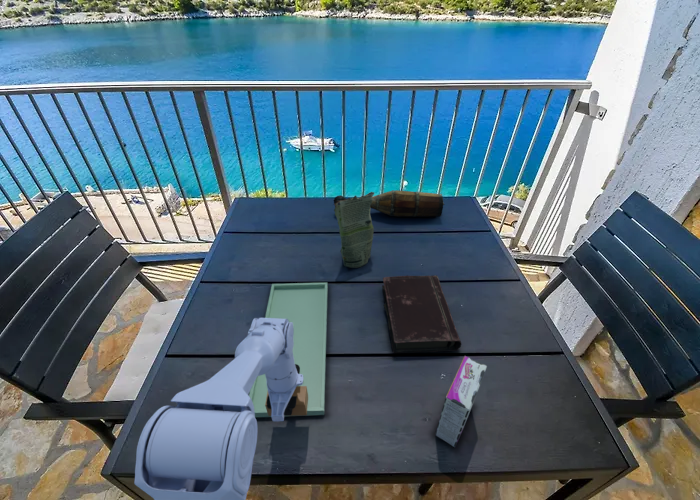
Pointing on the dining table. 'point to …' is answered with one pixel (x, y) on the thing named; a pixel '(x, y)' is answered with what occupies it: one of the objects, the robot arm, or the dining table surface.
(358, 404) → the dining table surface
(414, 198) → the decorative bottle
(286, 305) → the tray
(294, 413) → the block
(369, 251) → the pouch
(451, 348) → the diary
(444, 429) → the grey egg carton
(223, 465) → the robot arm
